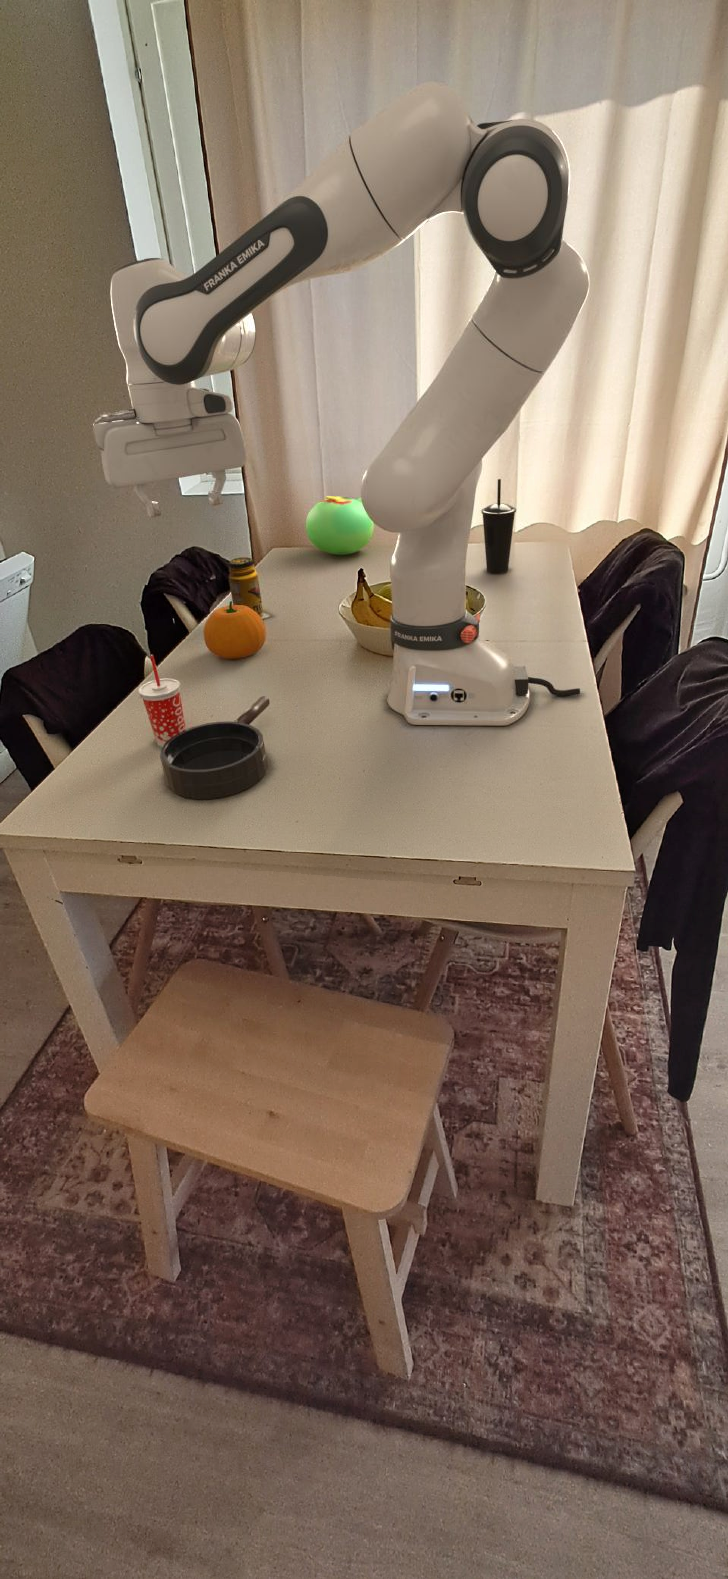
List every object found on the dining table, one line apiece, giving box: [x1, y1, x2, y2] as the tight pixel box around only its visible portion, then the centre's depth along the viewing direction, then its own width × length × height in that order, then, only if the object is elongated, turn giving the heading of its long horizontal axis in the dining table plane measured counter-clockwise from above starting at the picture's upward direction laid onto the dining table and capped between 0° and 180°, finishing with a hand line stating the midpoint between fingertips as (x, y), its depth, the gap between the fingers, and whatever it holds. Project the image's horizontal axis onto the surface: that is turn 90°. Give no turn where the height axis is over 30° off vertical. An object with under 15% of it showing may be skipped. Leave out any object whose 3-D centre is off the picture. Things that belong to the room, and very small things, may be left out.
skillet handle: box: [230, 695, 271, 733], centre depth 115 cm, size 10×2×2 cm, turn 160°
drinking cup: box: [480, 478, 517, 575], centre depth 172 cm, size 8×8×20 cm
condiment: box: [227, 556, 271, 620], centre depth 160 cm, size 7×8×12 cm
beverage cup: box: [138, 654, 186, 748], centre depth 114 cm, size 6×6×14 cm
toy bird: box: [305, 495, 375, 556], centre depth 196 cm, size 18×17×15 cm
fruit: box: [202, 600, 267, 660], centre depth 144 cm, size 12×12×10 cm
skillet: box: [159, 721, 269, 800], centre depth 107 cm, size 14×14×4 cm
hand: (186, 510), depth 112 cm, fingers open, 8 cm apart
